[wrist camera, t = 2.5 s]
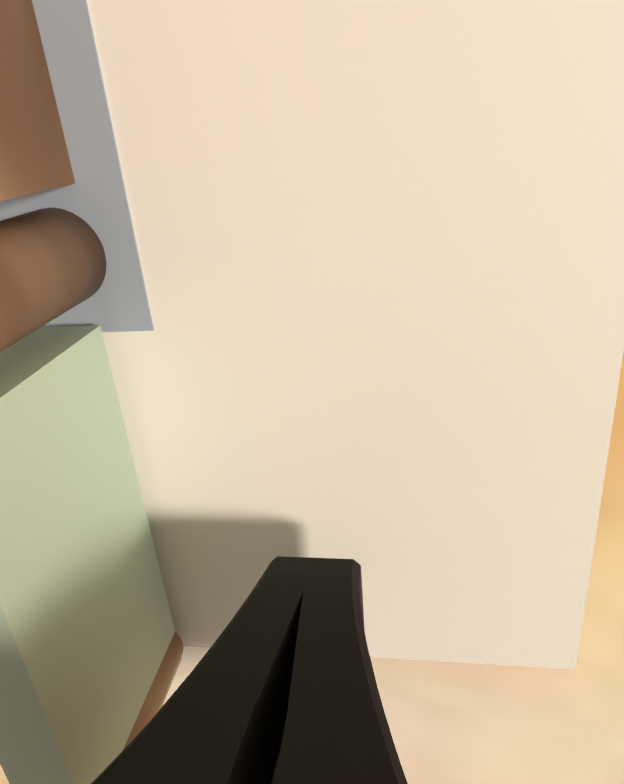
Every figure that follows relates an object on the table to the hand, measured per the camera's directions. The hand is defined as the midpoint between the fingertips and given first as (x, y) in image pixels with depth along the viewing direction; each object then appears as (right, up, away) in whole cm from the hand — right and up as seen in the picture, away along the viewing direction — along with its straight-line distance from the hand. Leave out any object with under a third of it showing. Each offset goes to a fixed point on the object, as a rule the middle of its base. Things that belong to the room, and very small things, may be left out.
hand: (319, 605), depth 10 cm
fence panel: (-3, +1, +1) cm, 4 cm away
